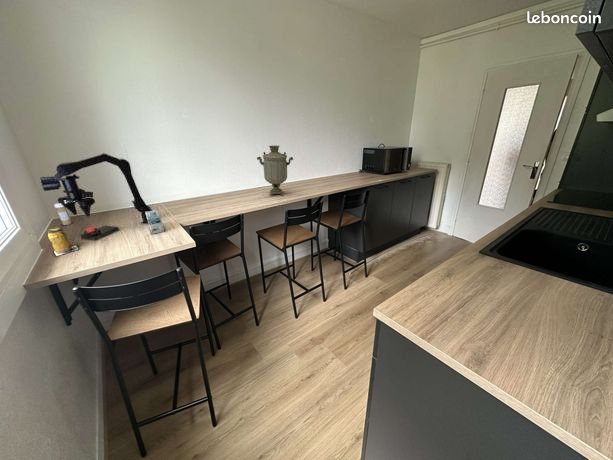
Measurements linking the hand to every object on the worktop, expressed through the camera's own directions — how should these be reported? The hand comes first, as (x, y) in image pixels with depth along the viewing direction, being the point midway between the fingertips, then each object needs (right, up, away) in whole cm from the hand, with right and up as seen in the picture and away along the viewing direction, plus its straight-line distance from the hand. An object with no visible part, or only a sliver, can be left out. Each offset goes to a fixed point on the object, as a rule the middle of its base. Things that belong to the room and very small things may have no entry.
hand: (82, 215), depth 139 cm
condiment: (+4, -19, -13) cm, 23 cm away
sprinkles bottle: (-27, -4, +19) cm, 33 cm away
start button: (+6, -9, 0) cm, 11 cm away
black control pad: (+7, -11, +5) cm, 13 cm away
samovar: (+100, +24, +82) cm, 131 cm away
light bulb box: (+36, -8, +10) cm, 38 cm away
